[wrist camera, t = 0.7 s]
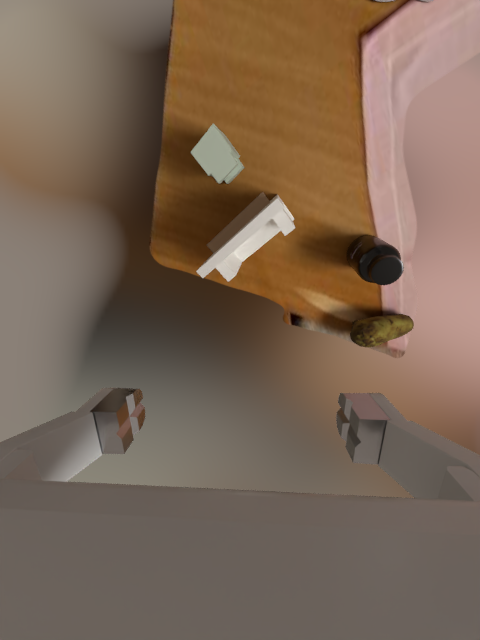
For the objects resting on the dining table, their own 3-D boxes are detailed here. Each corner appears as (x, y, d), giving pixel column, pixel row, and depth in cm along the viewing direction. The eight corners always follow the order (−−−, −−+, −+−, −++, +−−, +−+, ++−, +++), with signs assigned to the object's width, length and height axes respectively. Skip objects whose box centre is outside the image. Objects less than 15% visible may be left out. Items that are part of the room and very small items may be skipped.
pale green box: (222, 131, 40) (209, 118, 32) (246, 165, 42) (239, 160, 34) (203, 154, 42) (186, 147, 34) (226, 185, 44) (216, 185, 36)
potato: (392, 341, 56) (408, 362, 49) (340, 330, 56) (349, 350, 49) (411, 312, 52) (431, 331, 45) (354, 300, 52) (366, 317, 45)
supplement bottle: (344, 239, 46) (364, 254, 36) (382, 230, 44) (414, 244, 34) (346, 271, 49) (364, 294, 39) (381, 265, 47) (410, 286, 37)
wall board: (271, 185, 43) (268, 184, 29) (294, 218, 45) (301, 231, 32) (211, 241, 50) (187, 261, 36) (234, 267, 52) (219, 296, 38)
